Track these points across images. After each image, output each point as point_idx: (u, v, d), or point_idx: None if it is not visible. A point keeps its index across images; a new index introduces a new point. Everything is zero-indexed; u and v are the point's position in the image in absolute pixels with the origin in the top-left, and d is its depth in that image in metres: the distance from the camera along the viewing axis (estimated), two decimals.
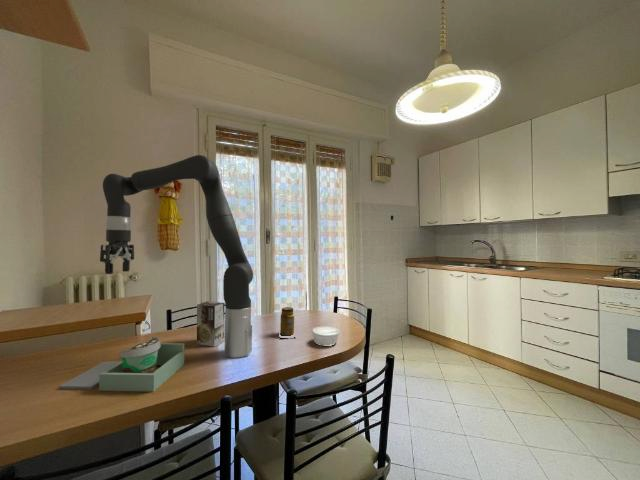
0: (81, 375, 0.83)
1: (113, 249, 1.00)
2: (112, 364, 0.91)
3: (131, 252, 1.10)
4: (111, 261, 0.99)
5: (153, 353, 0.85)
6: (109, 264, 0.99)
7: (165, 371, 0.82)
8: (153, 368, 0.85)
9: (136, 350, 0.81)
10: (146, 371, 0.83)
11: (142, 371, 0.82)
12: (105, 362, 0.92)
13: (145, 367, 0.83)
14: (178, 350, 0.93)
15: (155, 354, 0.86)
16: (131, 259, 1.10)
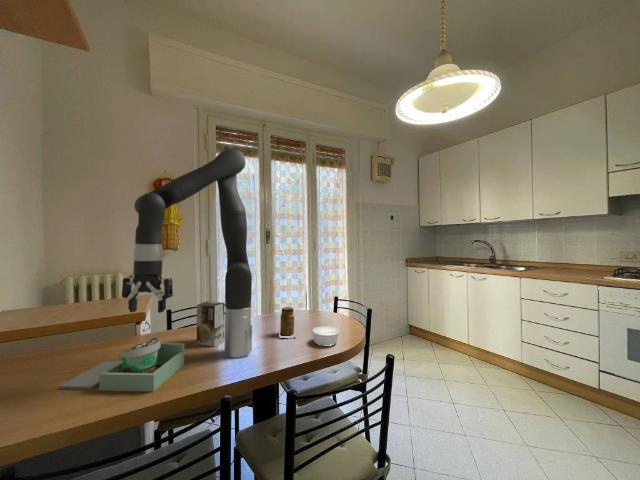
0: (81, 375, 0.83)
1: None
2: (112, 364, 0.91)
3: (130, 287, 0.86)
4: None
5: (153, 353, 0.85)
6: None
7: (165, 371, 0.82)
8: (153, 368, 0.85)
9: (136, 350, 0.81)
10: (146, 371, 0.83)
11: (142, 371, 0.82)
12: (105, 362, 0.92)
13: (145, 367, 0.83)
14: (178, 350, 0.93)
15: (155, 354, 0.86)
16: None
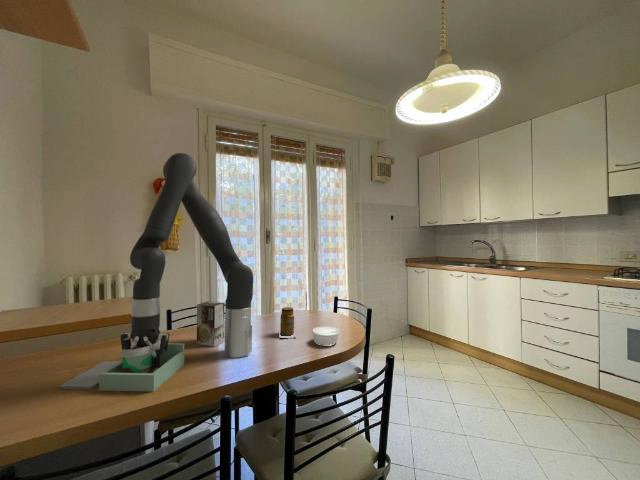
0: (81, 375, 0.83)
1: None
2: (112, 364, 0.91)
3: (129, 342, 0.86)
4: None
5: None
6: None
7: (165, 371, 0.82)
8: None
9: (136, 350, 0.81)
10: (146, 371, 0.83)
11: (143, 371, 0.82)
12: (105, 362, 0.92)
13: (145, 367, 0.83)
14: (178, 350, 0.93)
15: None
16: None
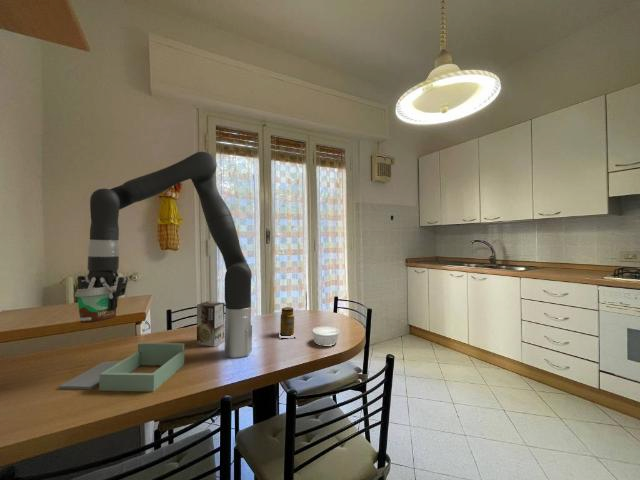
0: (81, 375, 0.83)
1: None
2: (112, 364, 0.91)
3: (88, 285, 0.86)
4: None
5: None
6: None
7: (165, 371, 0.82)
8: (112, 311, 0.85)
9: (92, 289, 0.81)
10: (104, 312, 0.83)
11: (100, 311, 0.82)
12: (105, 362, 0.92)
13: (102, 308, 0.83)
14: (178, 350, 0.93)
15: None
16: None
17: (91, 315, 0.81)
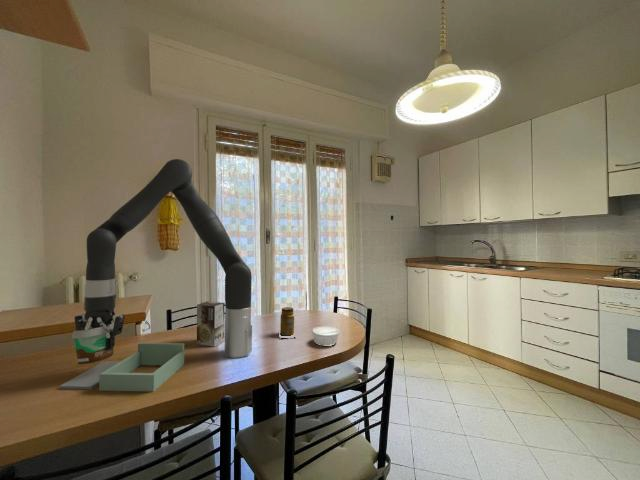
0: (81, 375, 0.83)
1: None
2: (112, 364, 0.91)
3: (85, 323, 0.86)
4: None
5: None
6: None
7: (165, 371, 0.82)
8: None
9: (88, 331, 0.81)
10: (101, 352, 0.83)
11: (97, 352, 0.82)
12: (105, 362, 0.92)
13: (99, 348, 0.83)
14: (178, 350, 0.93)
15: None
16: None
17: (89, 356, 0.81)
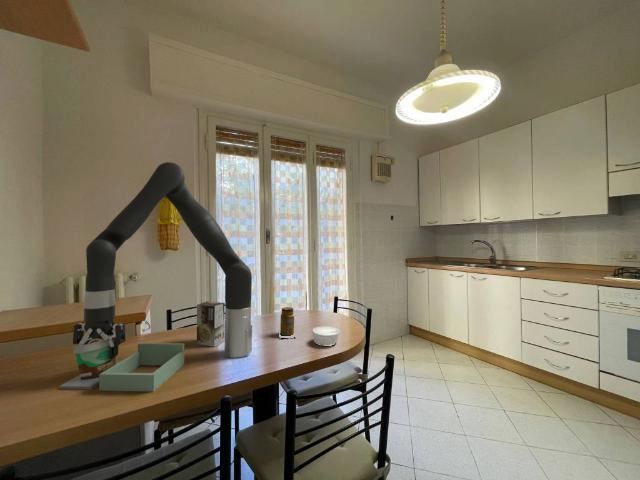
0: None
1: None
2: None
3: (82, 332, 0.86)
4: None
5: (109, 347, 0.85)
6: None
7: (165, 371, 0.82)
8: (111, 362, 0.86)
9: (90, 345, 0.81)
10: (104, 365, 0.83)
11: (99, 365, 0.82)
12: None
13: (102, 361, 0.83)
14: (178, 350, 0.93)
15: None
16: None
17: (91, 370, 0.81)
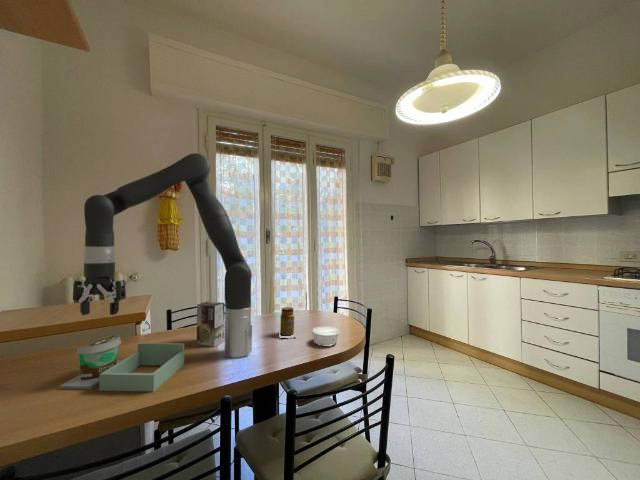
0: None
1: None
2: None
3: (82, 290, 0.86)
4: None
5: (112, 349, 0.85)
6: None
7: (165, 371, 0.82)
8: (112, 364, 0.86)
9: (94, 346, 0.81)
10: (105, 367, 0.83)
11: (101, 367, 0.82)
12: None
13: (103, 363, 0.83)
14: (178, 350, 0.93)
15: (115, 351, 0.86)
16: None
17: (92, 371, 0.81)
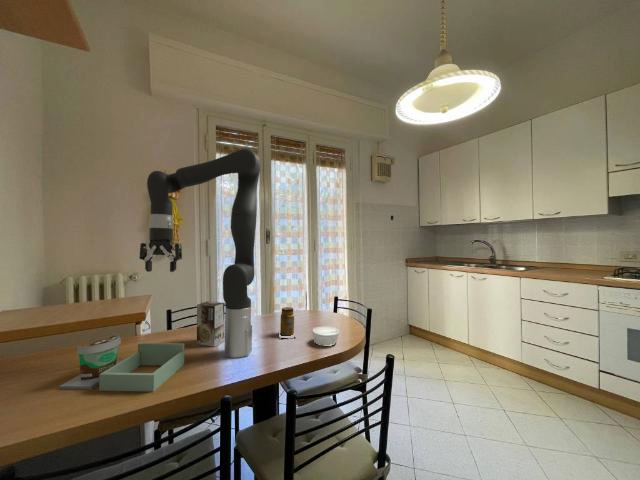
0: None
1: None
2: None
3: (146, 251, 1.03)
4: None
5: (112, 349, 0.85)
6: None
7: (165, 371, 0.82)
8: (112, 364, 0.86)
9: (94, 346, 0.81)
10: (105, 367, 0.83)
11: (101, 367, 0.82)
12: None
13: (103, 363, 0.83)
14: (178, 350, 0.93)
15: (115, 350, 0.86)
16: None
17: (92, 371, 0.81)
